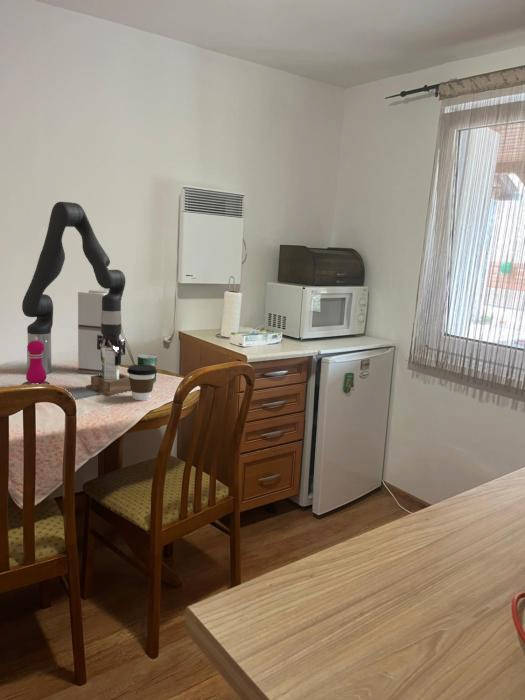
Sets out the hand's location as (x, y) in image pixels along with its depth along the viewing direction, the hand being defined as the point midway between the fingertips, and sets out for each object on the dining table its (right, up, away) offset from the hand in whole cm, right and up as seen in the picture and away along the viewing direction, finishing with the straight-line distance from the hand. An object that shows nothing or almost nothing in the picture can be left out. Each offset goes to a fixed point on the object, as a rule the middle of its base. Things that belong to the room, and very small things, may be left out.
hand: (110, 363), depth 208 cm
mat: (-10, -11, -7) cm, 17 cm away
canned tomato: (+10, -8, +17) cm, 22 cm away
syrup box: (0, -8, +2) cm, 8 cm away
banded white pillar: (-14, -4, +28) cm, 32 cm away
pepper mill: (-28, -10, -2) cm, 30 cm away
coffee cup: (+14, -13, -7) cm, 20 cm away
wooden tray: (0, -10, +2) cm, 11 cm away
